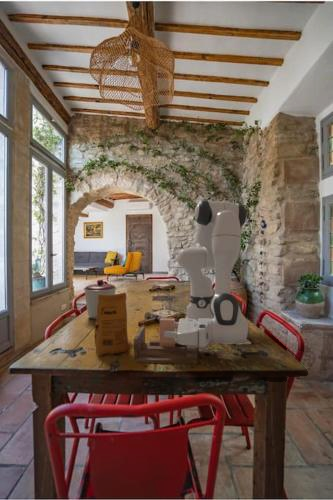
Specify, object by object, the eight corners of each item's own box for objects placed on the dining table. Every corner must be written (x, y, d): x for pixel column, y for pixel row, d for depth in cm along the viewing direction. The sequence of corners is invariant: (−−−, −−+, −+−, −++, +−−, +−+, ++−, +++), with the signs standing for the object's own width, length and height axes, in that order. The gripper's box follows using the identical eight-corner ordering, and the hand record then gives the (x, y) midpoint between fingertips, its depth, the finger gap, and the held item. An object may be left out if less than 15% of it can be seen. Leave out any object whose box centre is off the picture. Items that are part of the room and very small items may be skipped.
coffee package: (94, 347, 111) (94, 292, 110) (125, 344, 114) (125, 290, 113) (94, 356, 101) (94, 296, 101) (128, 353, 104) (128, 294, 104)
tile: (160, 349, 105) (160, 318, 105) (175, 350, 104) (175, 318, 104) (159, 352, 103) (159, 319, 102) (174, 352, 102) (174, 320, 102)
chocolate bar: (237, 329, 132) (254, 342, 114) (237, 331, 132) (254, 344, 114) (218, 330, 130) (233, 343, 113) (218, 332, 130) (233, 346, 113)
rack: (142, 345, 112) (142, 325, 112) (196, 347, 110) (196, 326, 110) (133, 361, 97) (133, 339, 96) (197, 364, 95) (197, 340, 94)
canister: (120, 313, 165) (120, 277, 164) (111, 321, 147) (111, 281, 146) (90, 312, 166) (90, 277, 166) (78, 321, 148) (78, 281, 148)
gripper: (202, 314, 112) (167, 314, 114) (204, 330, 92) (162, 329, 93) (202, 330, 113) (167, 329, 114) (204, 349, 92) (162, 348, 93)
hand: (165, 329), depth 103 cm, fingers open, 8 cm apart
